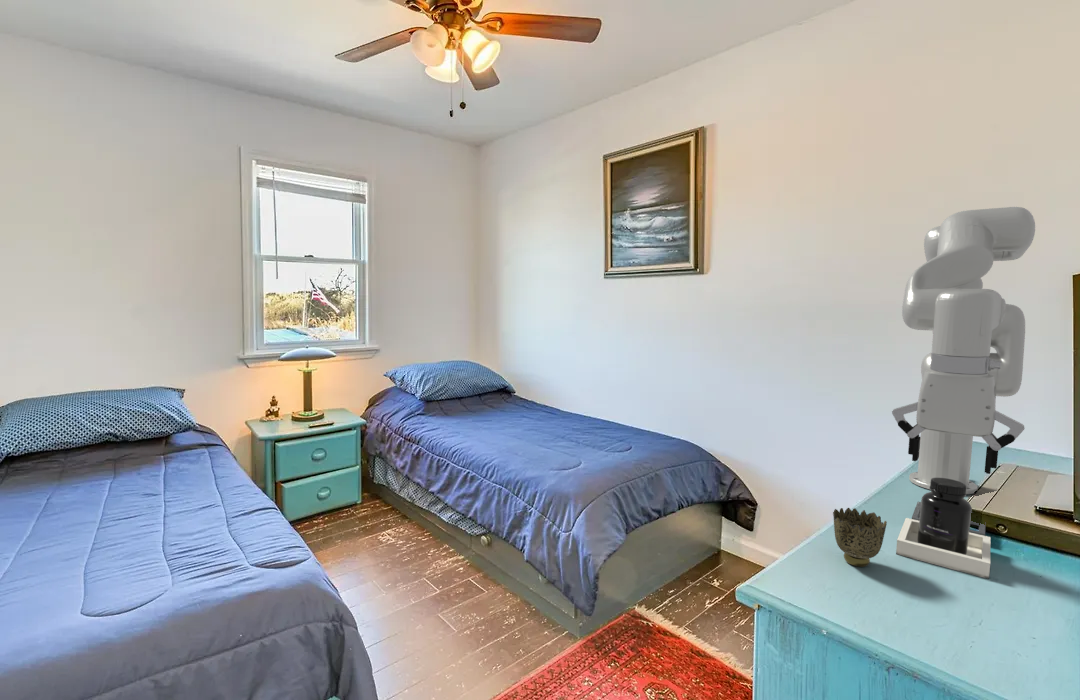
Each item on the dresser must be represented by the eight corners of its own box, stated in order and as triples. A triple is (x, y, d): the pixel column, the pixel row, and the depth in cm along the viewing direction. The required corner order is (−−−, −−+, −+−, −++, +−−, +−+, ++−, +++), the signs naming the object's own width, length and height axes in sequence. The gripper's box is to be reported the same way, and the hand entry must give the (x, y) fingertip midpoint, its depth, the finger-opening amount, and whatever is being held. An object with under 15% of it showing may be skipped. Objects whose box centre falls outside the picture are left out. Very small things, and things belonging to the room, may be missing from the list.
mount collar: (917, 510, 107) (917, 501, 106) (984, 525, 100) (985, 515, 100) (910, 527, 99) (911, 517, 99) (984, 545, 92) (985, 534, 92)
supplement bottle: (925, 555, 87) (931, 486, 86) (911, 537, 94) (916, 473, 92) (975, 562, 85) (981, 491, 84) (957, 543, 91) (962, 477, 90)
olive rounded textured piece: (891, 577, 81) (895, 528, 80) (840, 572, 83) (843, 523, 82) (871, 554, 88) (874, 509, 88) (824, 550, 90) (827, 505, 89)
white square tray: (904, 530, 98) (905, 517, 97) (989, 551, 90) (990, 537, 89) (896, 553, 88) (897, 539, 88) (988, 579, 81) (990, 563, 80)
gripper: (1029, 367, 83) (1018, 470, 85) (898, 358, 94) (892, 449, 97) (1031, 373, 78) (1020, 483, 80) (892, 363, 89) (886, 460, 91)
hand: (950, 465), depth 88 cm, fingers open, 9 cm apart
